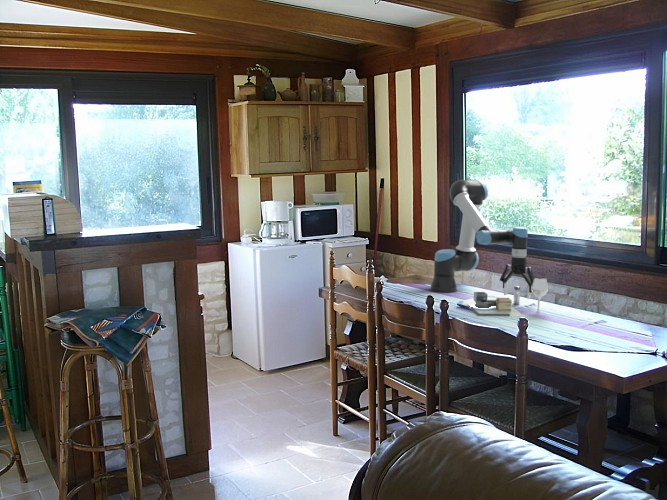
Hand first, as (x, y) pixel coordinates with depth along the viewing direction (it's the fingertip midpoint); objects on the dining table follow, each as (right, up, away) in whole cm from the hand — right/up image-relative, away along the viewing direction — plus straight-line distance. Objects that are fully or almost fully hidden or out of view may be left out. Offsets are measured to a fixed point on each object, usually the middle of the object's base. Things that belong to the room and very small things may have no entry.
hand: (517, 296), depth 368 cm
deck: (-15, -6, -13) cm, 21 cm away
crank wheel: (-15, -4, -7) cm, 17 cm away
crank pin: (0, -5, +1) cm, 5 cm away
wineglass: (+6, -7, -17) cm, 19 cm away
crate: (-11, -6, -15) cm, 19 cm away
